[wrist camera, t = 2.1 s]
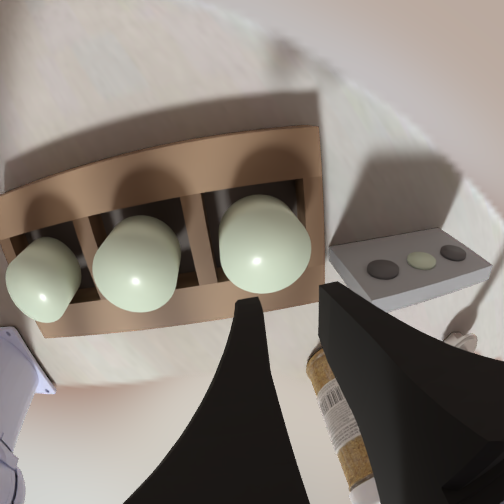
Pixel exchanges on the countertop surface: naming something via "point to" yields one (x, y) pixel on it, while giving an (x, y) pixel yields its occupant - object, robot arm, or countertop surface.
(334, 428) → the sprinkles bottle
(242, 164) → the wooden compartment tray
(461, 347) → the screw
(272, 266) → the button
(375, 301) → the card
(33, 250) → the button
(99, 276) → the button mid
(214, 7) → the countertop surface
